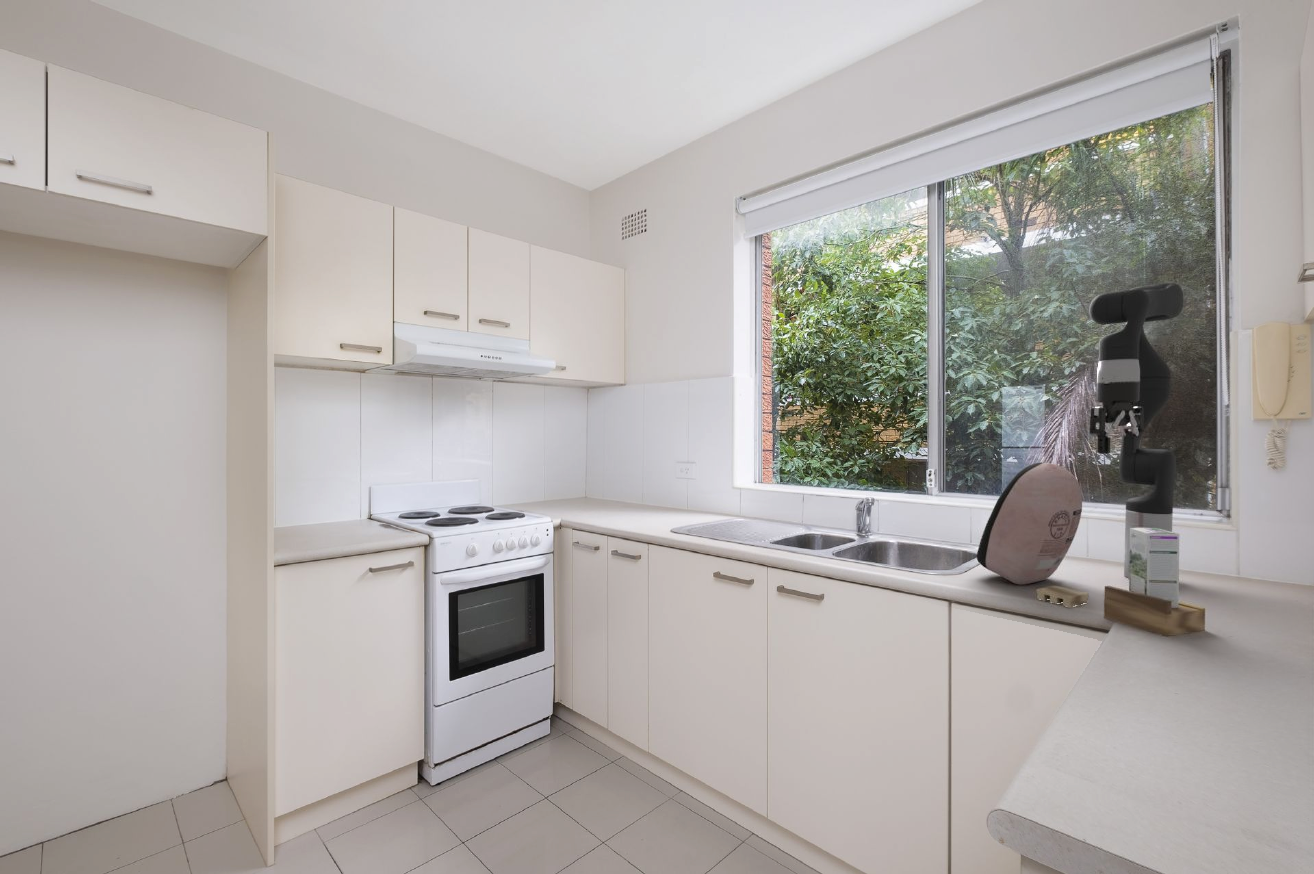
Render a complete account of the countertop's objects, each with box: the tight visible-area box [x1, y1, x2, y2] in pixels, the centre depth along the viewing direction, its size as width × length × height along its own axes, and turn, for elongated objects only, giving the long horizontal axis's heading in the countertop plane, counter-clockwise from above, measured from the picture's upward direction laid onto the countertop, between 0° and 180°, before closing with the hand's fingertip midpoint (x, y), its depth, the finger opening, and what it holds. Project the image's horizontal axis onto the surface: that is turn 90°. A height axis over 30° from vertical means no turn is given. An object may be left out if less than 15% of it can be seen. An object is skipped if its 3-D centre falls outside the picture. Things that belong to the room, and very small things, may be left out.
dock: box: [1103, 585, 1206, 637], centre depth 115 cm, size 11×11×6 cm
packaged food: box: [976, 461, 1083, 586], centre depth 145 cm, size 22×20×30 cm
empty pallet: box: [1036, 585, 1089, 609], centre depth 129 cm, size 7×7×2 cm
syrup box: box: [1128, 528, 1180, 608], centre depth 115 cm, size 6×6×14 cm
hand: (1116, 453), depth 132 cm, fingers open, 8 cm apart
